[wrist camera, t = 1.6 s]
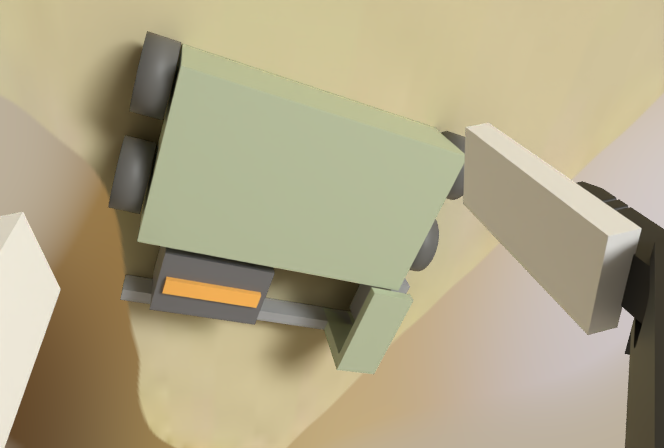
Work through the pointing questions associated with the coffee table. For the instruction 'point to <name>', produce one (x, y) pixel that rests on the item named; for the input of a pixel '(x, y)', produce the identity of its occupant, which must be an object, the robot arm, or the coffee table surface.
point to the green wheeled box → (287, 188)
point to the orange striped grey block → (209, 286)
